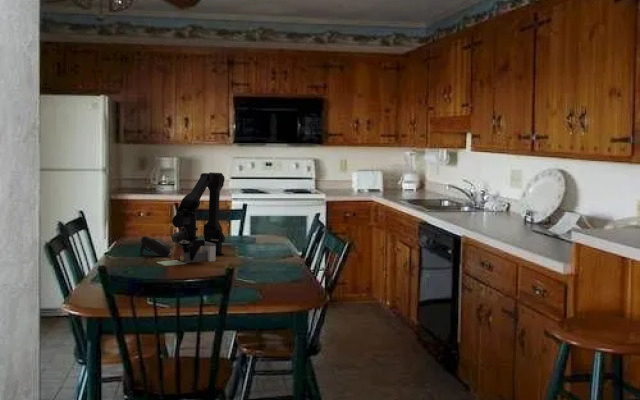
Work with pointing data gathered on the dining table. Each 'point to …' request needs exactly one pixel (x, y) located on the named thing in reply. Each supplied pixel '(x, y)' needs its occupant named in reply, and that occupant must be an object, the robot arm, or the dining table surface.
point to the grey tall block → (198, 257)
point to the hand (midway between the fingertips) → (189, 259)
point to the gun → (154, 247)
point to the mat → (170, 263)
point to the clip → (209, 250)
